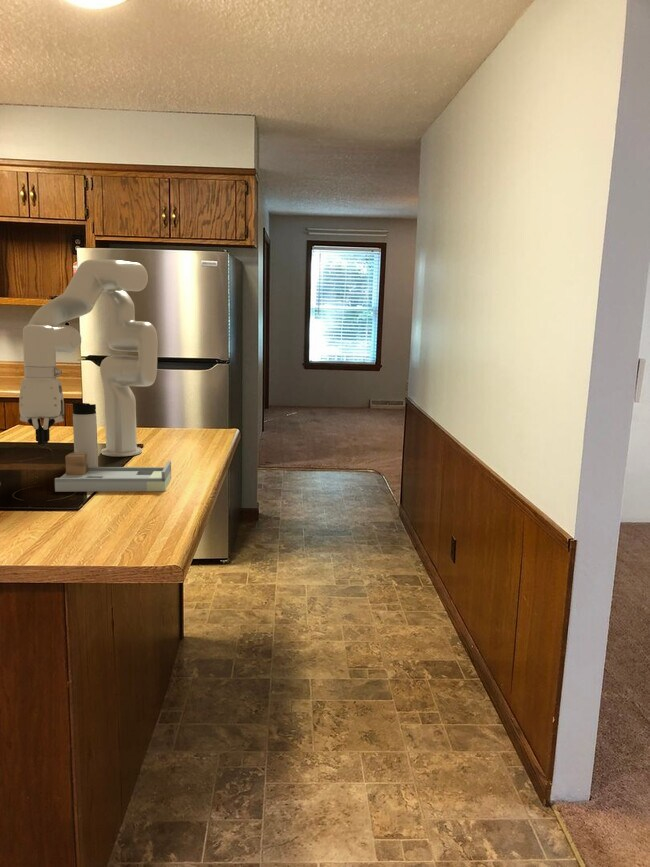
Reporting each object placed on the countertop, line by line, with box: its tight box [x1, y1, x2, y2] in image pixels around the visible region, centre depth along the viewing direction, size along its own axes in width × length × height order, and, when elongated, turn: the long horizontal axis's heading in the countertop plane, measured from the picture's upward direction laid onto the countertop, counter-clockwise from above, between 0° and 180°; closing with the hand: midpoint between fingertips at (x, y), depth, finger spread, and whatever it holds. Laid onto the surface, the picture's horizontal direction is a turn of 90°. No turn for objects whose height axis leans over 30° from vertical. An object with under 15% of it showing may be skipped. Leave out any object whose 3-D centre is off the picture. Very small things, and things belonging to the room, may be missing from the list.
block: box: [64, 452, 88, 475], centre depth 168 cm, size 4×4×5 cm
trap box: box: [54, 460, 172, 493], centre depth 167 cm, size 13×27×5 cm, turn 96°
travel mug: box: [71, 401, 99, 467], centre depth 180 cm, size 6×7×20 cm
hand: (42, 443), depth 166 cm, fingers closed
